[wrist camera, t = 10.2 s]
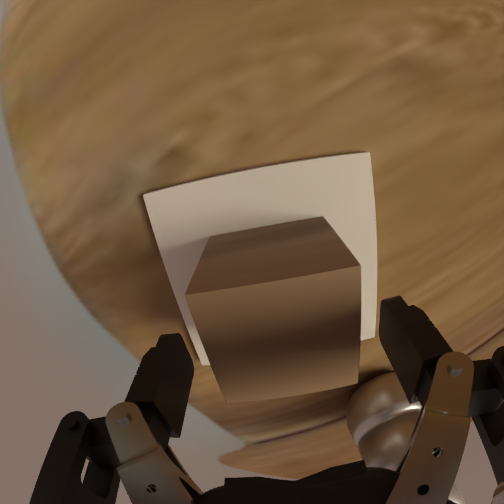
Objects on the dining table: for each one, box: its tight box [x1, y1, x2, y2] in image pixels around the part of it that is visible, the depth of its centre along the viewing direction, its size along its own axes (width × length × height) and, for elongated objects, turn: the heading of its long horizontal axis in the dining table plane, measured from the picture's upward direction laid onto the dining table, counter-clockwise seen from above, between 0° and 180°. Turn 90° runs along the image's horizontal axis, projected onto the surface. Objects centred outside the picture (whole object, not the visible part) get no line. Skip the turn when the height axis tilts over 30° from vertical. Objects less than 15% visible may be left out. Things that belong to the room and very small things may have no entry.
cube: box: [185, 216, 361, 403], centre depth 13 cm, size 6×6×6 cm
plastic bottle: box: [347, 372, 466, 504], centre depth 12 cm, size 6×7×20 cm
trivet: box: [143, 152, 377, 366], centre depth 16 cm, size 12×12×1 cm
